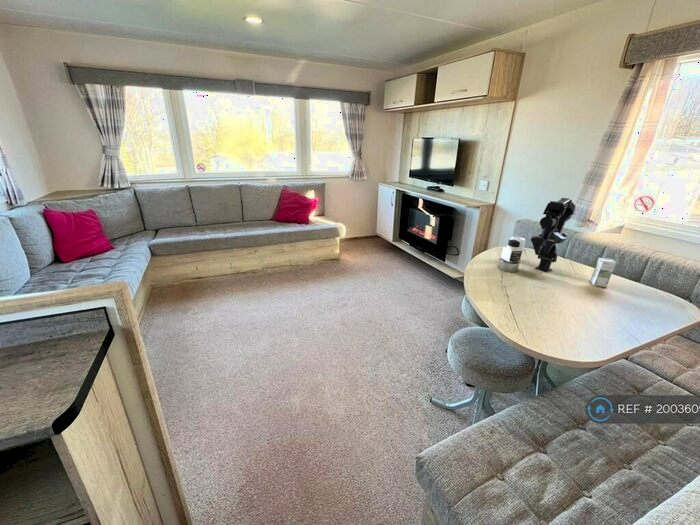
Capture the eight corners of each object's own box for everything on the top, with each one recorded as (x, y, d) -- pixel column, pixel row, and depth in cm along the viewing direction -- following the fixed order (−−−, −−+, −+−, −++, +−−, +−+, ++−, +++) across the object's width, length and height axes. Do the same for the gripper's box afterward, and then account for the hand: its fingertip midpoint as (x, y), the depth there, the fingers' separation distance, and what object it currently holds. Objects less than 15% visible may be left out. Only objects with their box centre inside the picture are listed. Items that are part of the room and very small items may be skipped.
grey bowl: (504, 263, 188) (506, 255, 186) (521, 269, 181) (523, 261, 179) (494, 267, 183) (496, 258, 181) (511, 273, 175) (513, 264, 173)
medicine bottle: (509, 262, 176) (514, 242, 171) (500, 258, 182) (505, 238, 178) (519, 261, 177) (524, 241, 173) (511, 257, 184) (515, 238, 179)
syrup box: (602, 283, 167) (611, 258, 162) (606, 287, 162) (616, 262, 157) (589, 281, 169) (598, 256, 164) (593, 285, 164) (603, 260, 158)
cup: (502, 257, 199) (508, 236, 194) (515, 257, 200) (520, 236, 195) (510, 262, 191) (516, 240, 186) (523, 262, 192) (529, 240, 187)
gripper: (556, 230, 151) (546, 260, 157) (575, 228, 160) (566, 257, 166) (534, 225, 160) (525, 253, 166) (553, 223, 169) (545, 250, 175)
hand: (541, 254), depth 168 cm, fingers open, 9 cm apart
